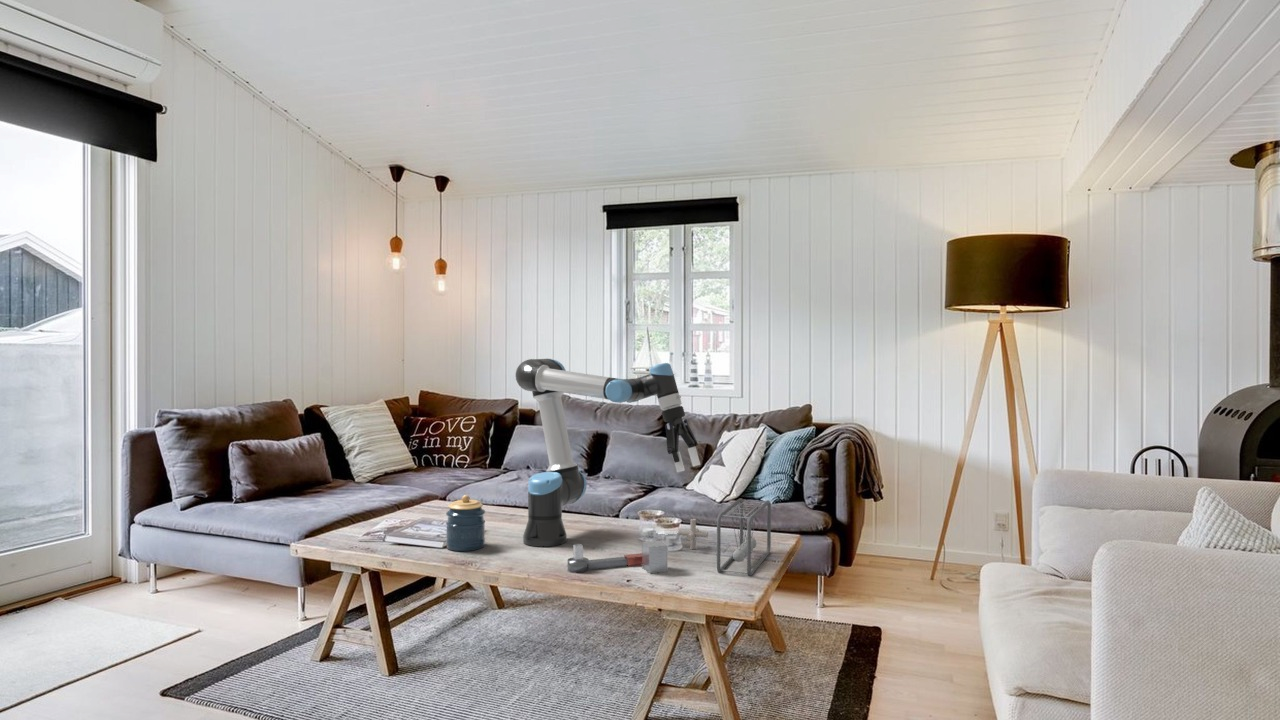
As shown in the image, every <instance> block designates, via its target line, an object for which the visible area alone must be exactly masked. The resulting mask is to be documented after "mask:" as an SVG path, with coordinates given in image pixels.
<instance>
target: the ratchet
mask: <svg viewBox="0 0 1280 720" xmlns="http://www.w3.org/2000/svg"><path fill="white" fill-rule="evenodd" d="M572 548H573V552H572V554H573V556H572V557H570V558H568V559H567V571H568V572H569V571H570V573H573V572H576V573H577V574H581V572H582V573H586V572H588V571H592V570H591V569H593V570H600V569H599V568H603V569H609V568H608V567H613V568H618V567H617V566H623V567H633V566H632V565H635V566H642V552H641V553H633V554H632V553H630V554H625V555H624V554H623V555H624V556H618V557H617V556H616V557H606V558H597V559H596V558H595V559H589V558H588V557H584V546H583V544H581V543H576V544H573V545H572ZM627 565H628V566H627ZM585 571H586V572H585Z"/></svg>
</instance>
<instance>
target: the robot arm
mask: <svg viewBox="0 0 1280 720" xmlns="http://www.w3.org/2000/svg"><path fill="white" fill-rule="evenodd" d="M515 380H516V382H517V384H518V386H519V387H520V388H521V389H523V390H525V391H528V392H532V397H533V399H534V400H536V401H537V402H538V403H537V404H538V407H539V414H540V420H541V424H542V430H543V436H544V441H545V447H546V452H547V457H548V463H549V465H548V468H547V469H546V470H545V471H544V472H537V473H536V474H533V475H531V476H530V477H529V480H528V484H527V485H528V486H527V491H528V494H527V497H528V501H527V503H528V505H527V506H528V509H527V511H528V518H527V519H528V520H527V523H526V525H525V529H524V532H523V536H522V541H523V544H524V545H527V546H532V547H543V546H544V547H555V546H560V545H563V544H565V543H566V542H567V537H568V536H567V531H566V528H565V526H564V523H563V519H562V514H563V513H562V512H563V508H562V507H563V506H567V505H571V504H574V503H576V502H577V501H579V500H581V499H582V498H583V496H584V495H585V494H586V491H587V486H588V483H587V478H586V477H585V474H583V473H582V471H580V470H579V467H578V463H576V462H575V461H574V459H573V454H572V451H571V450H572V449H571V444H570V439H569V438H570V437H569V433H568V427H567V422H566V418H565V417H566V416H565V411H564V407H563V400H562V396H563V395H564V394H572V395H577V396H578V395H579V396H584V397H591V398H596V399H603V400H608V401H611V402H613V403H620V404H621V403H628V404H629V403H635V402H638V401H641V400H644V399H647V398H649V397H653V396H657V400H658V401H657V402H658V404H659V408H660V410H662V411H661V415H662V419H663V421H664V422H666V424H664V428H665V436H666V437H665V438H666V450H667V453H668V455H671V456H672V459H673V463H674V467H675V470H676V473H677V474H679V473H681V472H684V471H686V469H685V466H684V461H683V458H682V454H681V451H680V450H679V442H680V441H679V438H680V437H681V438H682V440H683V441H684V443H685V444H686V446H687V447H688V448H687V451H688V455H689V458H690V461H691V462H690V463H691V465H692V467H693V468H694V467H697V466H701V461H700V458H699V454H698V450H697V446H698V445H699V444H698V440H697V438H696V437H695V435H694V433H693V430H692V429H691V427H690V425H689V422H688V420H687V418H686V419H683V417H686V413H685V410H684V409H685V408H684V407H683V406H682V404H683V402H682V398H681V397H682V396H681V395H680V392H679V389H678V386H677V382H676V377H675V374H674V371H673V368H672V365H671V364H670V363H668V362H664V363H663V362H662V363H660V364H655V365H654V366H651V367H650V368H649V374H646V375H643V376H639V377H637V378H634V377H633V378H617V377H608V376H602V375H595V374H588V373H582V372H576V371H570V370H566V367H565V366H564V365H563V364H562V363H561V362H560V361H558V360H557V359H553V358H536V359H535V358H530V359H529V358H528V359H525V360H524V361H522V362H521V363H519V365H518V366H517V367H516V369H515ZM667 422H668V423H667Z"/></svg>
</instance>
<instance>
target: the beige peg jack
mask: <svg viewBox="0 0 1280 720" xmlns="http://www.w3.org/2000/svg"><path fill="white" fill-rule="evenodd" d="M696 525H697V519H696V518H690V525H689V526H690V527H689V529H690V530H686V529H685V530H683V529H678V531H677V535H678V536H683V537H686V540H688V541H690V543H689V544H690V545H689V546H690V547H689V549H690V550H692V549H694V550H697V549H696V548H697V545H696V544H697V543H696V541H697V540H696V538H707V539H708V537H709V533H708V532H707V531H700V529H699V528H697V526H696Z"/></svg>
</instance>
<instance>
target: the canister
mask: <svg viewBox="0 0 1280 720" xmlns="http://www.w3.org/2000/svg"><path fill="white" fill-rule="evenodd" d="M483 506H484V504H483V503H481V502H480V501H479V500H478V499H477V500H476V499H470V495H468V494H464V495H462V497H461V499H458V500H454V501H453V502H452V503H450V504H448V508H449V509H448V511H446V512H445V514H446V516H447V521H446V522H445V525H446V540H445V545H446V549H447V550H450V551H453V552H454V551H455V552H469V551H470V550H472V551H477V550H480V549H482V548H483V547H485V543H486V537H485V536H486V535H485V533H486V532H485V531H486V530H485V529H486V528H485V527H486V525H485V523H486V520H485V517H484V516H485V514H486V510H485V509H483ZM470 552H471V551H470Z"/></svg>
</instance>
